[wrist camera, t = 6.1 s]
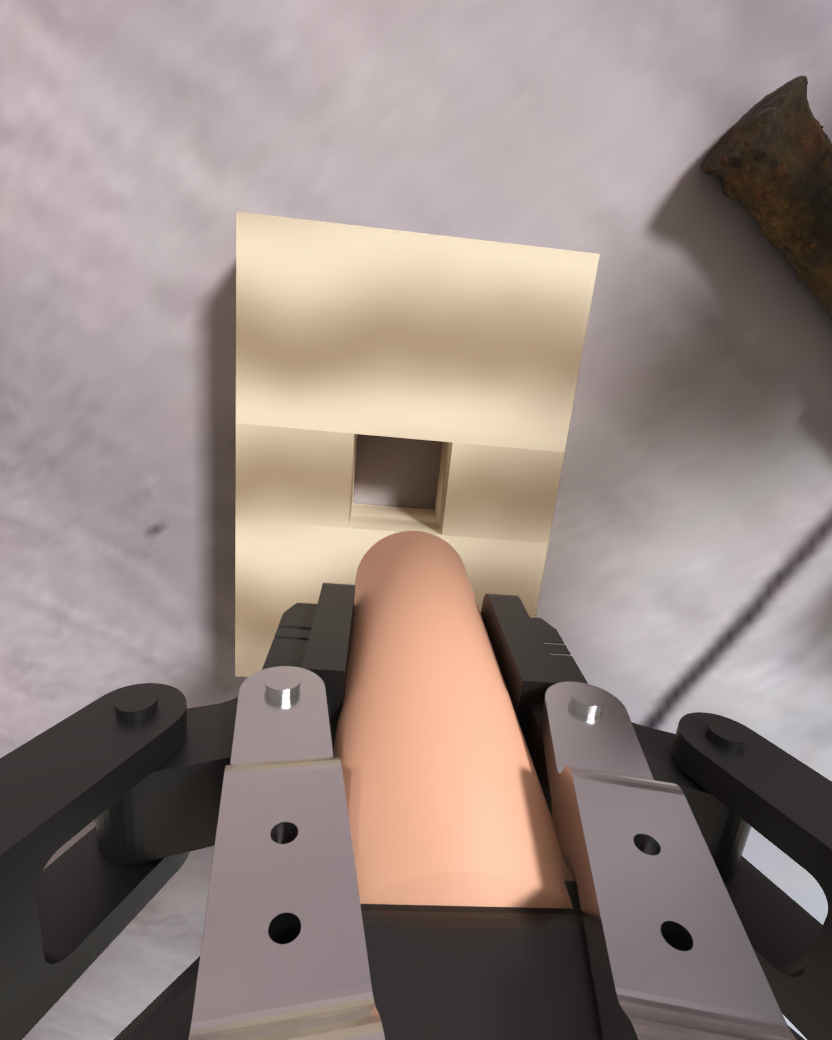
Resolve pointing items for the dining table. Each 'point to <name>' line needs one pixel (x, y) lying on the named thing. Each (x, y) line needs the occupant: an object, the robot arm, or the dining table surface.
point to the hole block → (395, 403)
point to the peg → (437, 745)
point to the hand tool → (784, 180)
